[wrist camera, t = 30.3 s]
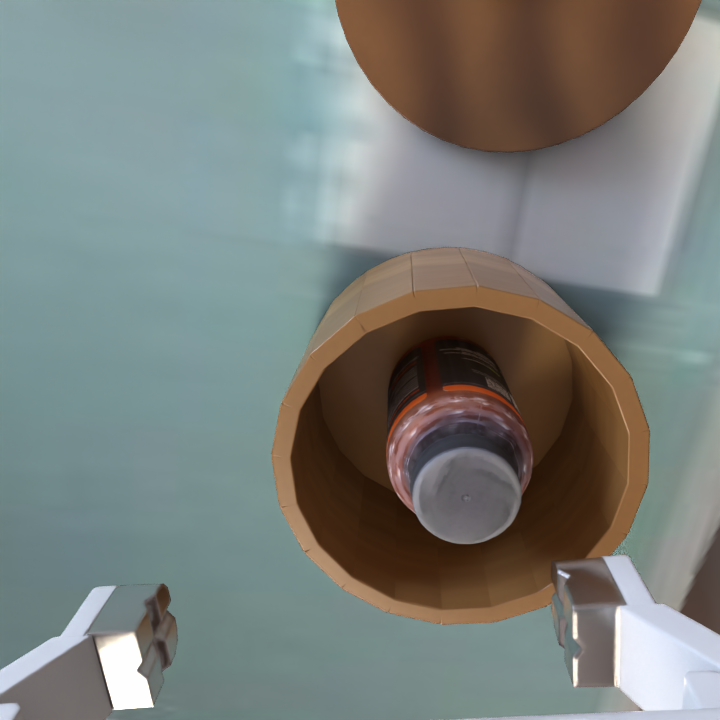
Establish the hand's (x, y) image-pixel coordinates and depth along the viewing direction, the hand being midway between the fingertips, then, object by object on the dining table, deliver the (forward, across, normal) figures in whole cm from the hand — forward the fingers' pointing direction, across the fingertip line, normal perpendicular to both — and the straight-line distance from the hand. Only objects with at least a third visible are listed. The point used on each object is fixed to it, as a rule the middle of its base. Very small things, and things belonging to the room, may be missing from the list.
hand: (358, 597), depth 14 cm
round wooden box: (+22, -3, +3) cm, 22 cm away
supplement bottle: (+21, -3, +3) cm, 22 cm away
